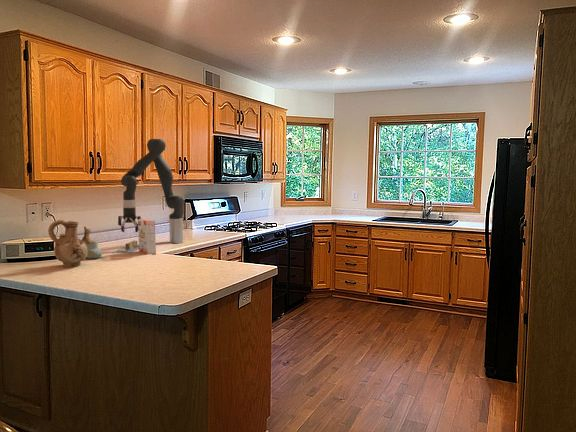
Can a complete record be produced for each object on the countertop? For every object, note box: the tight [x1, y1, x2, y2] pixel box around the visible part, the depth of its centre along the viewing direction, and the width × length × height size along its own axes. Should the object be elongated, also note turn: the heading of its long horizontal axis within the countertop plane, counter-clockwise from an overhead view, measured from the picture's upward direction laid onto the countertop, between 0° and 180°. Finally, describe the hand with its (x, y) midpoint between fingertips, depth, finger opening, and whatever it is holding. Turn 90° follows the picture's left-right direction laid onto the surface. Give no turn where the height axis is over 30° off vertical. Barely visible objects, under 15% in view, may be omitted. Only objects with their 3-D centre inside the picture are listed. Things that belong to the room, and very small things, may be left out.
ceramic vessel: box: [47, 219, 95, 268], centre depth 251 cm, size 18×19×25 cm
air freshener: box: [85, 240, 104, 260], centre depth 273 cm, size 11×8×10 cm
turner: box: [118, 240, 138, 252], centre depth 301 cm, size 22×6×4 cm, turn 178°
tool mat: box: [111, 245, 139, 254], centre depth 301 cm, size 28×12×1 cm, turn 178°
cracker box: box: [137, 218, 157, 255], centre depth 290 cm, size 14×6×21 cm, turn 37°
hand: (129, 232), depth 302 cm, fingers open, 8 cm apart
